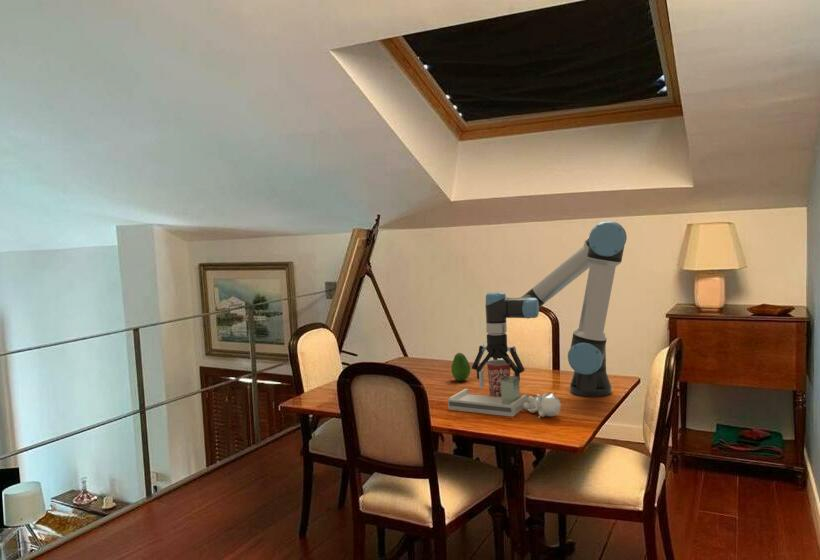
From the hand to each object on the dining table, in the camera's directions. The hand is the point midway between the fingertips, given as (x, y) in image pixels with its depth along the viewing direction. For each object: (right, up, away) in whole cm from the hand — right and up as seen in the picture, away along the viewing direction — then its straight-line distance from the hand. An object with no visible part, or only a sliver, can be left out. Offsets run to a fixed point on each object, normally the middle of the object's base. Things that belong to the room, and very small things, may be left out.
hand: (498, 389), depth 233 cm
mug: (0, -3, 0) cm, 3 cm away
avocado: (-12, -2, +28) cm, 30 cm away
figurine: (+11, -4, -25) cm, 28 cm away
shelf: (-6, -4, -14) cm, 15 cm away
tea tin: (+2, -2, -18) cm, 18 cm away
